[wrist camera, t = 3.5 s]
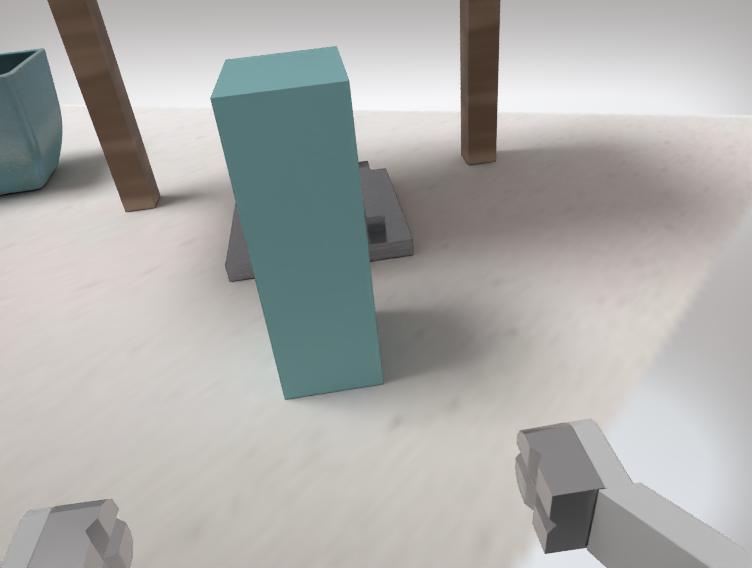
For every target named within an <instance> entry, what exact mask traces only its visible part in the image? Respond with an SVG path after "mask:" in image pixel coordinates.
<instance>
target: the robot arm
mask: <svg viewBox="0 0 752 568" xmlns="http://www.w3.org/2000/svg"><path fill="white" fill-rule="evenodd" d="M517 445H518V448H519V450H520V454H519V455H518V456H517V457H516V462H515V470H516V477H517V483H518V486H519V490H520V493H521V496H522V498H523V501H524V504H526V505H527V506H528V507H530V508H531V509H532V510H534V512H533V523H532V524H533V526H534V529H535V531H536V533H537V536H538V538H539V541H540V543H541V546H542V548H543V551H544V553H545V554H547V553H554V552H561V551H568V550H574V549H580V548H587V550H588V551H589V552H590V553H591V554H592V555H594V557H595V558H597V559H598V560H599V561H600V562H601V563H602V564H603V565H604V566H605V567H607V568H752V553H751V552H750V551H748V550H747V549H745V548H743V547H742V546H740V545H739V544H737V543H735V542H734V541H732V540H731V539H729V538H728V537H726V536H724V535H723V534H721V533H720V532H718V531H717V530H715V529H713V528H712V527H710V526H709V525H707V524H705V523H704V522H702V521H701V520H699V519H697V518H696V517H694V516H693V515H691V514H690V513H688V512H686V511H685V510H683V509H682V508H680V507H678V506H677V505H675V504H674V503H672V502H671V501H669V500H667V499H666V498H664V497H663V496H661V495H659V494H658V493H656V492H655V491H653V490H651V489H650V488H648V487H647V486H645V485H643V484H642V483H636V484H633V482H632V481H631V479H630V477H629V476H628V474H627V472H626V471H625V469H624V467H623V466H622V464H621V462H620V461H619V459H618V457H617V456H616V454H615V453H614V451H613V449H612V448H611V446H610V444H609V443H608V441H607V439H606V438H605V436H604V435H603V433H602V431H601V430H600V428H599V426H598V425H597V423H596V422H595V421H594V420H592V419H586V420H580V421H574V422H568V423H559V424H554V425H548V426H542V427H537V428H531V429H526V430H520V431H519V433H518V434H517ZM117 513H118V507H117V506H116V504H115V502H114V501H113V499H105V500H98V501H91V502H84V503H76V504H69V505H62V506H55V507H48V508H42V509H35V510H29V511H28V512H27V513H26V514H25V515H24V517H23V518H22V519H21V521H20V523H19V526H18V528H17V530H16V533H15V535H14V537H13V539H12V542H11V544H10V546H9V549H8V551H7V553H6V555H5V558H4V560H3V562H2V565H1V567H0V568H130V567H131V562H132V558H133V540H132V536H131V531H130V529H129V527H128V525H127V523H126V522H124V521H121V520H119V519H117V518H116V517H117Z"/></svg>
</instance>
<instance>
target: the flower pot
mask: <svg viewBox="0 0 752 568" xmlns="http://www.w3.org/2000/svg"><path fill="white" fill-rule="evenodd" d="M61 144H62V117H61V111H60V106H59V101H58V98H57V94H56V90H55V86H54V82H53V78H52V75H51V71H50V67H49V63H48V60H47V56H46V52H45V49H43V48H42V49H33V50H25V51H18V52H9V53H2V54H0V195H1V194H7V193H13V192H20V191H27V190H35V189H39V188H41V187H43V186H44V185H45V184H46V182H47V180H48V179H49V177H50V176H51V174H52V173H53V171H54V170H55V168H56V167H57V166H58V162H59V157H60V151H61Z"/></svg>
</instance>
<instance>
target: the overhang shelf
mask: <svg viewBox="0 0 752 568" xmlns="http://www.w3.org/2000/svg"><path fill="white" fill-rule="evenodd" d="M48 3H49V6H50V8H51V11H52V14H53V16H54V19H55V22H56V24H57V27H58V30H59V33H60V35H61V38H62V41H63V44H64V46H65V49H66V52H67V54H68V57H69V60H70V63H71V65H72V68H73V71H74V73H75V76H76V79H77V81H78V84H79V87H80V90H81V92H82V95H83V98H84V100H85V103H86V106H87V109H88V111H89V114H90V117H91V120H92V122H93V125H94V128H95V130H96V133H97V136H98V139H99V141H100V144H101V147H102V149H103V152H104V155H105V158H106V160H107V163H108V166H109V168H110V171H111V174H112V177H113V179H114V182H115V185H116V187H117V190H118V193H119V195H120V198H121V201H122V204H123V206H124V209H125V212H128V211H135V210H142V209H150V208H155V207H156V204H157V202H158V200H159V197H160V193H159V190H158V187H157V184H156V181H155V178H154V175H153V172H152V169H151V166H150V163H149V159H148V156H147V153H146V150H145V147H144V144H143V141H142V138H141V135H140V132H139V129H138V126H137V123H136V120H135V117H134V113H133V110H132V107H131V104H130V101H129V98H128V95H127V92H126V89H125V86H124V83H123V80H122V77H121V74H120V70H119V67H118V64H117V61H116V58H115V55H114V52H113V49H112V46H111V43H110V40H109V37H108V34H107V31H106V27H105V25H104V21H103V18H102V15H101V12H100V9H99V6H98V3H97V0H48ZM499 25H500V0H460V55H461V56H460V60H461V155H462V157H463V158H464V159H465V161H466V162H467V164H468V165H471V164H479V163H486V162H493V161H496V137H497V99H498V98H497V97H498V61H499V27H500V26H499Z"/></svg>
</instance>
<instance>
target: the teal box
mask: <svg viewBox="0 0 752 568" xmlns="http://www.w3.org/2000/svg"><path fill="white" fill-rule="evenodd" d="M211 103H212V107H213V111H214V115H215V119H216V123H217V127H218V131H219V135H220V139H221V143H222V147H223V151H224V155H225V159H226V163H227V167H228V171H229V176H230V180H231V184H232V188H233V192H234V196H235V200H236V204H237V208H238V212H239V216H240V220H241V224H242V228H243V232H244V236H245V240H246V244H247V248H248V252H249V256H250V260H251V265H252V269H253V273H254V277H255V281H256V285H257V289H258V293H259V297H260V301H261V305H262V309H263V313H264V317H265V321H266V325H267V329H268V333H269V337H270V341H271V345H272V349H273V354H274V358H275V362H276V366H277V370H278V374H279V378H280V382H281V386H282V390H283V394H284V398H285V399H291V398H297V397H304V396H310V395H316V394H323V393H329V392H335V391H342V390H348V389H354V388H361V387H367V386H373V385H380V384H383V376H382V367H381V359H380V350H379V341H378V332H377V323H376V314H375V305H374V296H373V287H372V279H371V270H370V261H369V252H368V243H367V234H366V225H365V216H364V208H363V199H362V190H361V181H360V172H359V163H358V154H357V145H356V137H355V128H354V119H353V110H352V102H351V92H350V83H349V79H348V76H347V73H346V70H345V68H344V65H343V62H342V60H341V57H340V54H339V51H338V49H337V46H334V47H326V48H318V49H310V50H301V51H293V52H286V53H277V54H269V55H261V56H253V57H244V58H237V59H228V60H225V63H224V65H223V68H222V70H221V73H220V75H219V78H218V80H217V83H216V86H215V88H214V90H213V93H212V95H211Z"/></svg>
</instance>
